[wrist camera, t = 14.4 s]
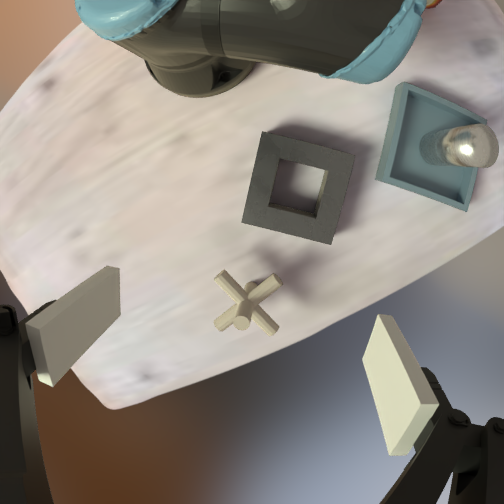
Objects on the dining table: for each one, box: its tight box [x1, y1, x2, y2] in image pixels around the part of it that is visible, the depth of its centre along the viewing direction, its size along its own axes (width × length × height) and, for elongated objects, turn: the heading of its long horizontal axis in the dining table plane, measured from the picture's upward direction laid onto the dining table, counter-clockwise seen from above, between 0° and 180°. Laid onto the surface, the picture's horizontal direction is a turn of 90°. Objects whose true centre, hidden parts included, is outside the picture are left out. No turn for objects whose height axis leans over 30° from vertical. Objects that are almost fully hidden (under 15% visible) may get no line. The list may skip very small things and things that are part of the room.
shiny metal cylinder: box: [419, 124, 499, 168], centre depth 30 cm, size 4×4×12 cm
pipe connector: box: [214, 269, 283, 336], centre depth 40 cm, size 10×10×10 cm
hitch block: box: [241, 131, 355, 245], centre depth 38 cm, size 11×11×4 cm
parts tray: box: [375, 82, 487, 212], centre depth 35 cm, size 13×13×3 cm
